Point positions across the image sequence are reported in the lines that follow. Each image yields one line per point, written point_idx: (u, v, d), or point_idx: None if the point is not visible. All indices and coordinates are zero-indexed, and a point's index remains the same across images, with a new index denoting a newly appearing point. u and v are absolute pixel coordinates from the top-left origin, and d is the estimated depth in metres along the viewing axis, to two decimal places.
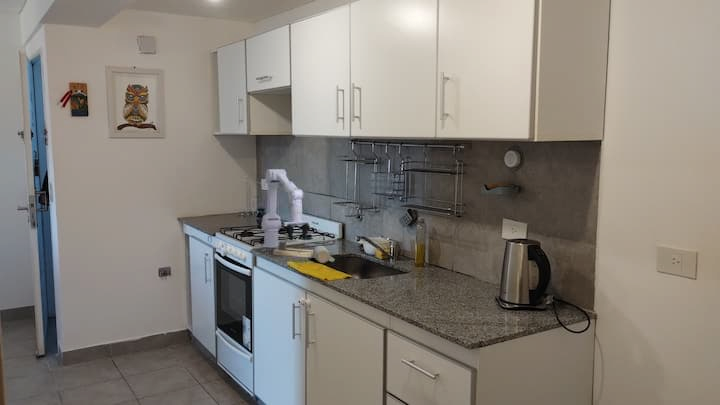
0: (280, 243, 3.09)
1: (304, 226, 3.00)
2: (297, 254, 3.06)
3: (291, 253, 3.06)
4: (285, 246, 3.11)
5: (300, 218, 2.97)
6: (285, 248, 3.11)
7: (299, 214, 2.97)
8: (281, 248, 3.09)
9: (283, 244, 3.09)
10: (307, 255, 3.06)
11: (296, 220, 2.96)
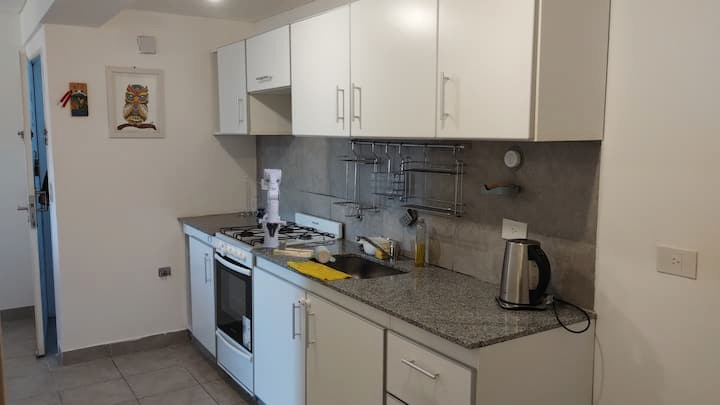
0: (280, 243, 3.09)
1: None
2: (297, 254, 3.06)
3: (291, 253, 3.06)
4: (285, 246, 3.11)
5: (272, 218, 3.06)
6: (285, 248, 3.11)
7: (271, 214, 3.06)
8: (281, 248, 3.09)
9: (283, 244, 3.09)
10: (307, 255, 3.06)
11: (268, 219, 3.07)
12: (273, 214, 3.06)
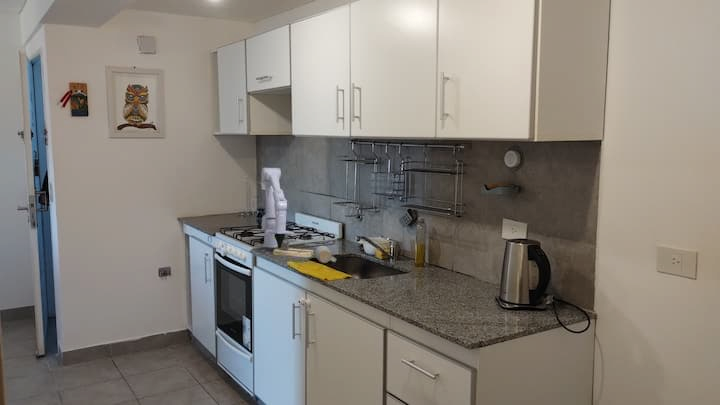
0: (283, 243, 3.09)
1: None
2: (297, 254, 3.06)
3: (291, 253, 3.06)
4: (288, 246, 3.11)
5: (280, 228, 3.07)
6: (288, 248, 3.11)
7: (279, 225, 3.06)
8: (284, 248, 3.09)
9: (286, 244, 3.08)
10: (307, 255, 3.06)
11: (276, 230, 3.07)
12: (281, 225, 3.06)
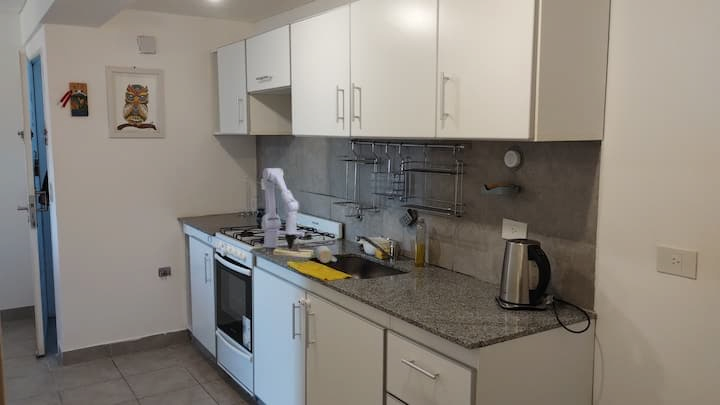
0: (293, 244, 3.08)
1: None
2: (297, 254, 3.06)
3: (291, 253, 3.06)
4: (298, 247, 3.10)
5: (291, 229, 3.06)
6: (298, 249, 3.11)
7: (290, 225, 3.06)
8: (294, 249, 3.08)
9: (296, 245, 3.08)
10: (307, 255, 3.06)
11: (287, 231, 3.07)
12: (291, 226, 3.06)
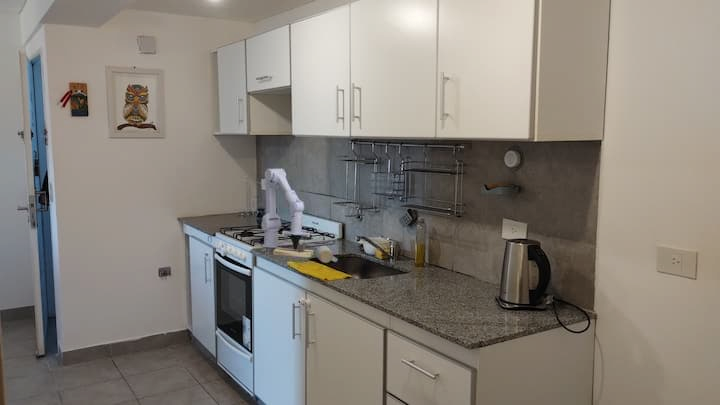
0: (299, 245, 3.08)
1: None
2: (297, 254, 3.06)
3: (291, 253, 3.06)
4: (304, 247, 3.10)
5: (296, 230, 3.06)
6: None
7: (295, 226, 3.06)
8: (300, 250, 3.08)
9: (302, 246, 3.08)
10: (307, 255, 3.06)
11: (292, 231, 3.07)
12: (297, 226, 3.06)
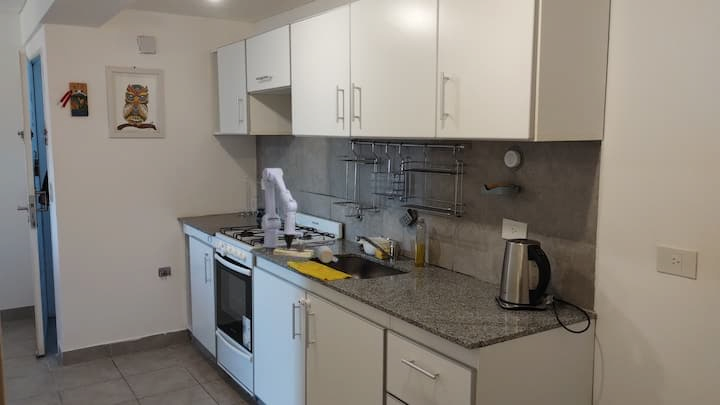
0: (299, 245, 3.08)
1: None
2: (297, 254, 3.06)
3: (291, 253, 3.06)
4: (304, 247, 3.10)
5: (289, 229, 3.06)
6: None
7: (288, 225, 3.06)
8: (300, 250, 3.08)
9: (302, 246, 3.08)
10: (307, 255, 3.06)
11: (285, 231, 3.07)
12: (290, 226, 3.06)
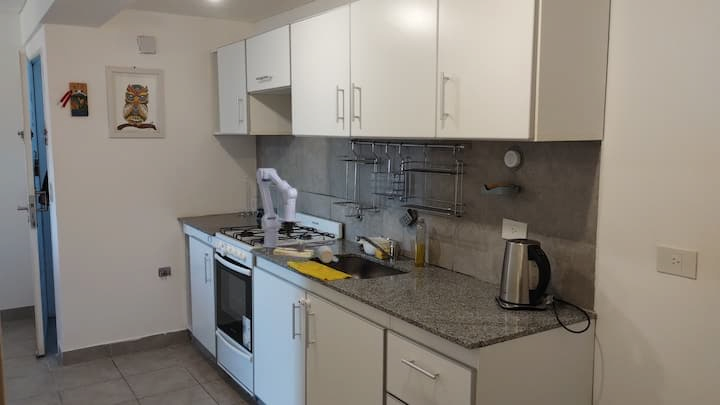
0: (299, 245, 3.08)
1: None
2: (297, 254, 3.06)
3: (291, 253, 3.06)
4: (304, 247, 3.10)
5: (289, 216, 3.08)
6: None
7: (288, 213, 3.08)
8: (300, 250, 3.08)
9: (302, 246, 3.08)
10: (307, 255, 3.06)
11: (285, 218, 3.09)
12: (290, 213, 3.08)
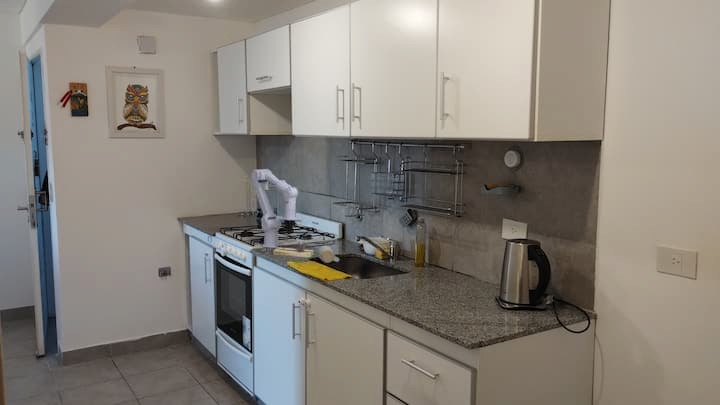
0: (299, 245, 3.08)
1: None
2: (297, 254, 3.06)
3: (291, 253, 3.06)
4: (304, 247, 3.10)
5: (290, 215, 3.11)
6: None
7: (289, 211, 3.11)
8: (300, 250, 3.08)
9: (302, 246, 3.08)
10: (307, 255, 3.06)
11: (286, 216, 3.12)
12: (290, 211, 3.11)
